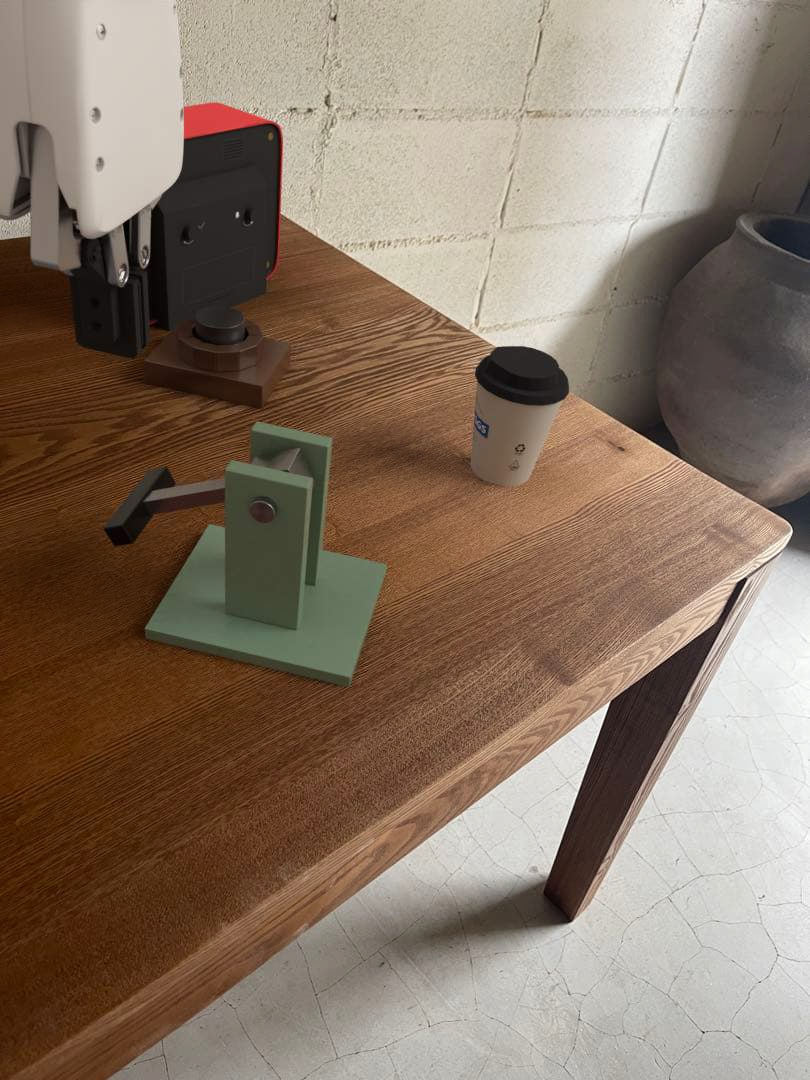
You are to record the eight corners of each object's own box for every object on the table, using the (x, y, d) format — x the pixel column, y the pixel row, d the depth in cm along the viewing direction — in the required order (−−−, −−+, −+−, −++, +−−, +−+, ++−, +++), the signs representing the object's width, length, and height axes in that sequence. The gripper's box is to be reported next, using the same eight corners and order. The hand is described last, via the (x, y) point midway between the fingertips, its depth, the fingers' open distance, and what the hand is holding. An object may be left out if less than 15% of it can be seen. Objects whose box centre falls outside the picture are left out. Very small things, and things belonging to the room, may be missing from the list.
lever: (118, 554, 48) (97, 520, 47) (162, 494, 53) (144, 461, 51) (294, 527, 44) (277, 489, 43) (325, 464, 49) (309, 428, 48)
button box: (145, 384, 71) (142, 340, 69) (182, 342, 77) (181, 300, 75) (261, 409, 70) (263, 366, 68) (290, 365, 77) (292, 324, 74)
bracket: (145, 646, 49) (131, 480, 42) (209, 540, 57) (206, 384, 50) (348, 695, 49) (370, 534, 41) (384, 581, 56) (409, 429, 49)
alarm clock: (293, 286, 89) (302, 124, 79) (143, 346, 76) (131, 159, 66) (226, 256, 93) (225, 97, 83) (71, 308, 79) (49, 125, 69)
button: (187, 341, 70) (187, 321, 69) (206, 321, 73) (205, 302, 72) (235, 351, 70) (235, 331, 69) (251, 331, 73) (251, 311, 72)
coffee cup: (549, 465, 70) (581, 354, 63) (533, 512, 64) (566, 396, 58) (466, 441, 71) (490, 330, 64) (444, 486, 65) (468, 369, 59)
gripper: (79, -123, 38) (110, 274, 50) (-155, -111, 26) (-43, 401, 38) (243, -90, 37) (235, 303, 49) (78, -64, 26) (118, 440, 38)
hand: (113, 345), depth 44 cm, fingers closed
